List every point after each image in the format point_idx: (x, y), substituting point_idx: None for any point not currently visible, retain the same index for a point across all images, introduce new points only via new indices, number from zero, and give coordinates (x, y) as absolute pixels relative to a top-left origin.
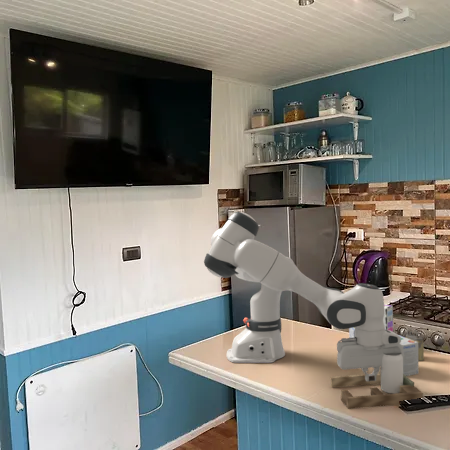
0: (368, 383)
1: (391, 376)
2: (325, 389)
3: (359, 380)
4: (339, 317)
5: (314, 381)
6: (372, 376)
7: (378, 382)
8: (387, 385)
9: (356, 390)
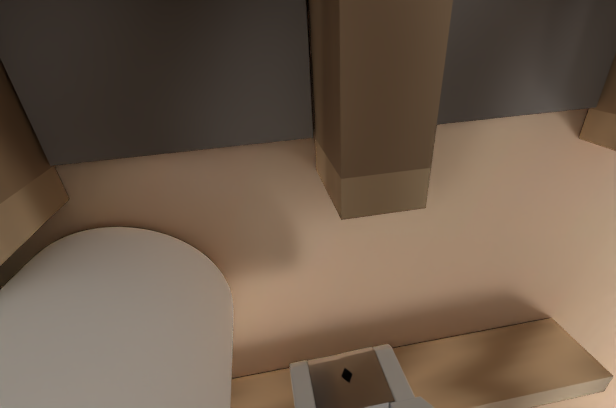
0: None
1: (68, 402)
2: (601, 293)
3: None
4: None
5: None
6: (345, 403)
7: None
8: (180, 292)
9: (425, 286)
